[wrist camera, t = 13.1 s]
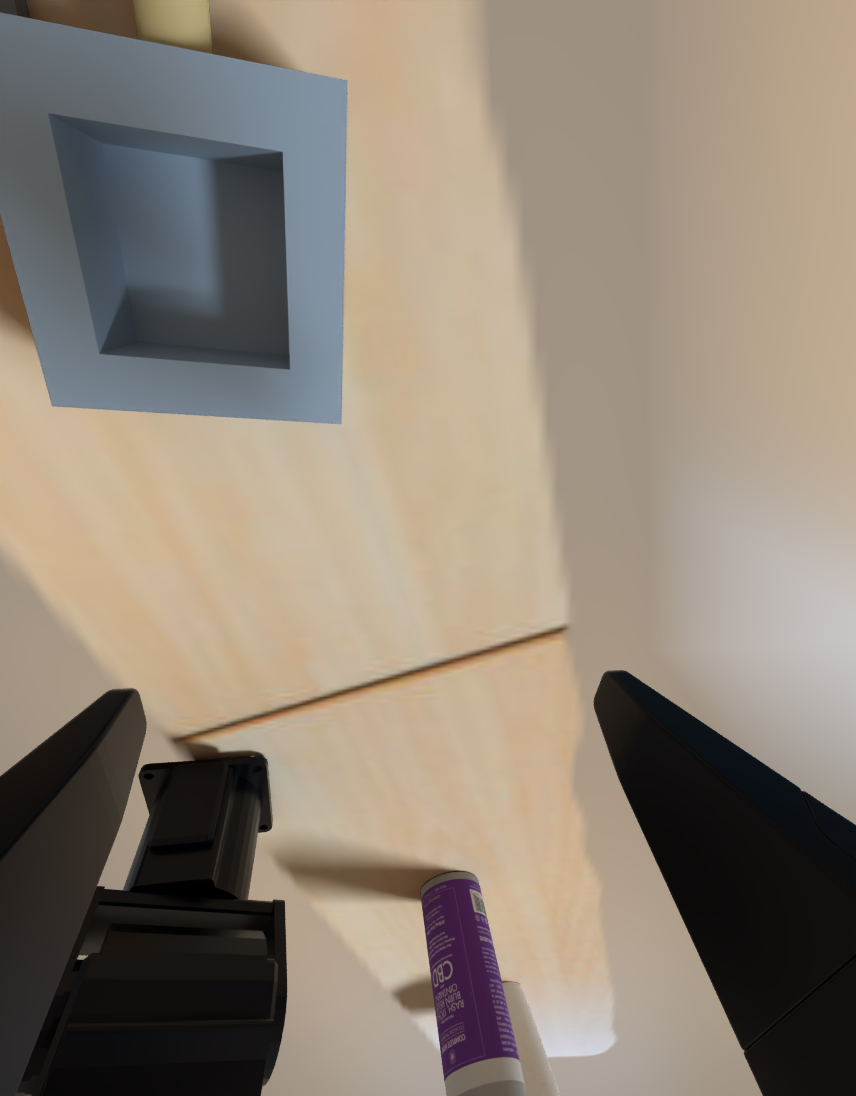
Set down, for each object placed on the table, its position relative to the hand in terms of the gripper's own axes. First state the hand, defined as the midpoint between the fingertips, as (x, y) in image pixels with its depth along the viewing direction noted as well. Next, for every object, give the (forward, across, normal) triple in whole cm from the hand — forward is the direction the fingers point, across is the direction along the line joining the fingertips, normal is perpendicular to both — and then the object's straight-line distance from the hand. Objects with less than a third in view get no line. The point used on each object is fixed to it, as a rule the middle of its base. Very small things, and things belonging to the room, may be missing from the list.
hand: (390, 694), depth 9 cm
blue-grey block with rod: (+12, +5, -11) cm, 17 cm away
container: (+12, -8, +34) cm, 37 cm away
